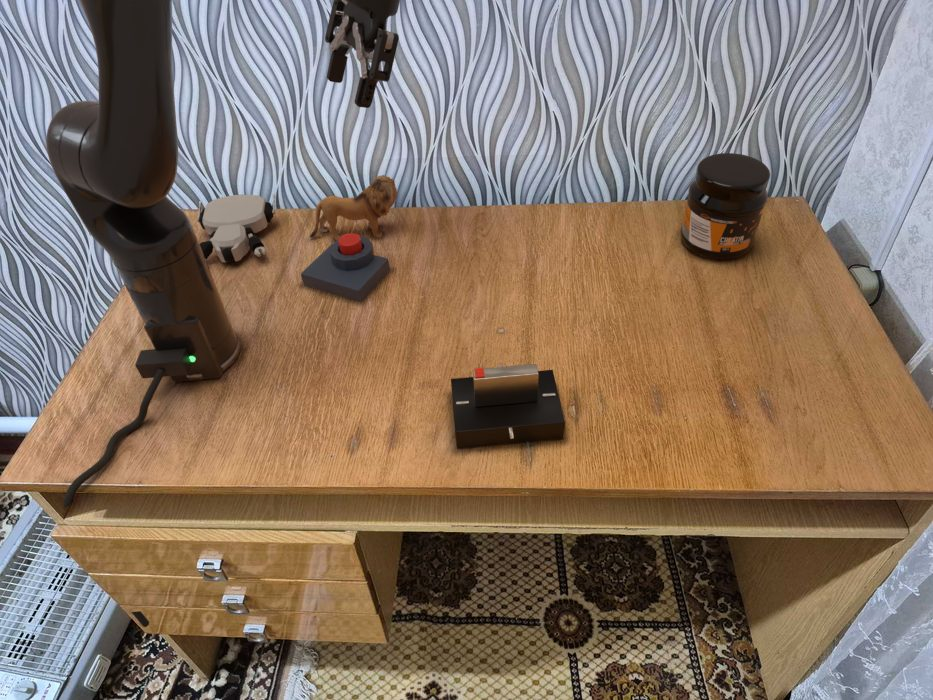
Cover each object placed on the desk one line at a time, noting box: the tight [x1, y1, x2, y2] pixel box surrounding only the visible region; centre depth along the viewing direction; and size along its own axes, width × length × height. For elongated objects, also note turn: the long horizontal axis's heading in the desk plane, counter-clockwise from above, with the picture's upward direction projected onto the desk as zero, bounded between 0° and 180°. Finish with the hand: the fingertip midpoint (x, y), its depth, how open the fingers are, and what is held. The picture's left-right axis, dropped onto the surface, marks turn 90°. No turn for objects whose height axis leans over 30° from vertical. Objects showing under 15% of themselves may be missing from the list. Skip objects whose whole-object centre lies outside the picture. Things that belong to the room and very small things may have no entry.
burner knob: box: [472, 363, 539, 407], centre depth 73 cm, size 7×2×5 cm, turn 94°
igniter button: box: [338, 232, 362, 256], centre depth 95 cm, size 3×3×2 cm
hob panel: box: [450, 363, 566, 450], centre depth 75 cm, size 12×11×3 cm
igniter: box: [300, 235, 391, 303], centre depth 96 cm, size 10×9×4 cm
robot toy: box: [196, 192, 277, 264], centre depth 104 cm, size 12×4×15 cm
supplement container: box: [680, 152, 771, 260], centre depth 95 cm, size 10×10×12 cm
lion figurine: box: [308, 174, 398, 241], centre depth 102 cm, size 15×5×9 cm, turn 103°
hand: (347, 93), depth 92 cm, fingers open, 8 cm apart
